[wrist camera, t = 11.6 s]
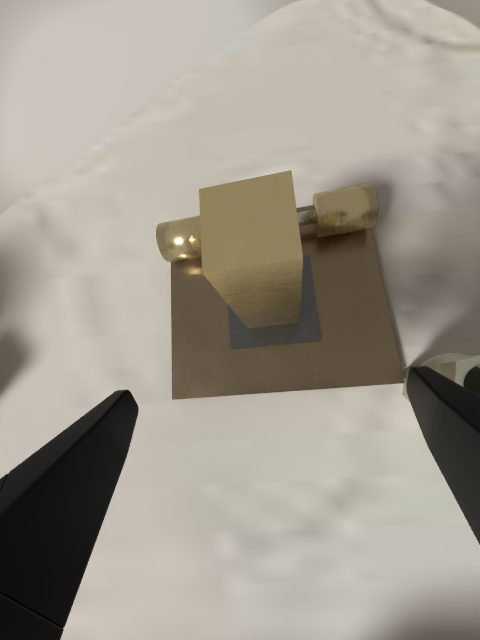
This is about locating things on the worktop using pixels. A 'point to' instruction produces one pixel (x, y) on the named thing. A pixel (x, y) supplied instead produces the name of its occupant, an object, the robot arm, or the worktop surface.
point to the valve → (454, 370)
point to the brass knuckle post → (254, 248)
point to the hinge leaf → (315, 311)
